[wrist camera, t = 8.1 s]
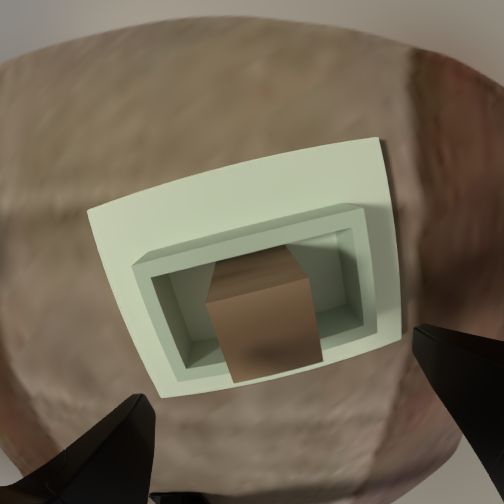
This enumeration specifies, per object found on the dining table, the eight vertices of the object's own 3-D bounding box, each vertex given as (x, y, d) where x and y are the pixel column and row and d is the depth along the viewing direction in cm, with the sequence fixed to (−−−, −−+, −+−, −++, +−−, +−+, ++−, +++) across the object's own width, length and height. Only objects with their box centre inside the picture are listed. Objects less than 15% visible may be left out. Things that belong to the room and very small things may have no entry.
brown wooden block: (298, 306, 18) (323, 361, 12) (234, 322, 18) (233, 383, 12) (284, 244, 17) (308, 277, 11) (216, 261, 17) (205, 303, 11)
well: (396, 334, 20) (421, 360, 16) (163, 391, 20) (153, 425, 16) (372, 138, 16) (403, 130, 13) (92, 209, 17) (61, 216, 13)
